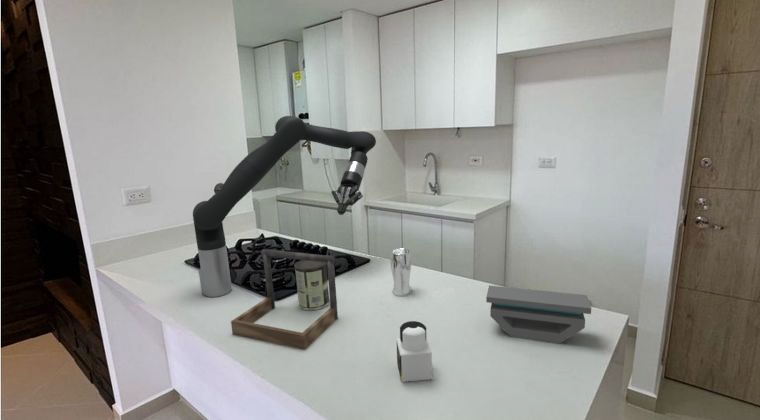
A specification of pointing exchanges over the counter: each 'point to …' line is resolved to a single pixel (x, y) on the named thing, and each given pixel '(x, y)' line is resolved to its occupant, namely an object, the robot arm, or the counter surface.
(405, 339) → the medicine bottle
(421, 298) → the counter surface
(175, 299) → the counter surface
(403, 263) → the beer glass
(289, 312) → the counter surface
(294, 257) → the frame
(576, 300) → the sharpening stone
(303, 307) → the coffee can
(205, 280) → the robot arm
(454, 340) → the counter surface
